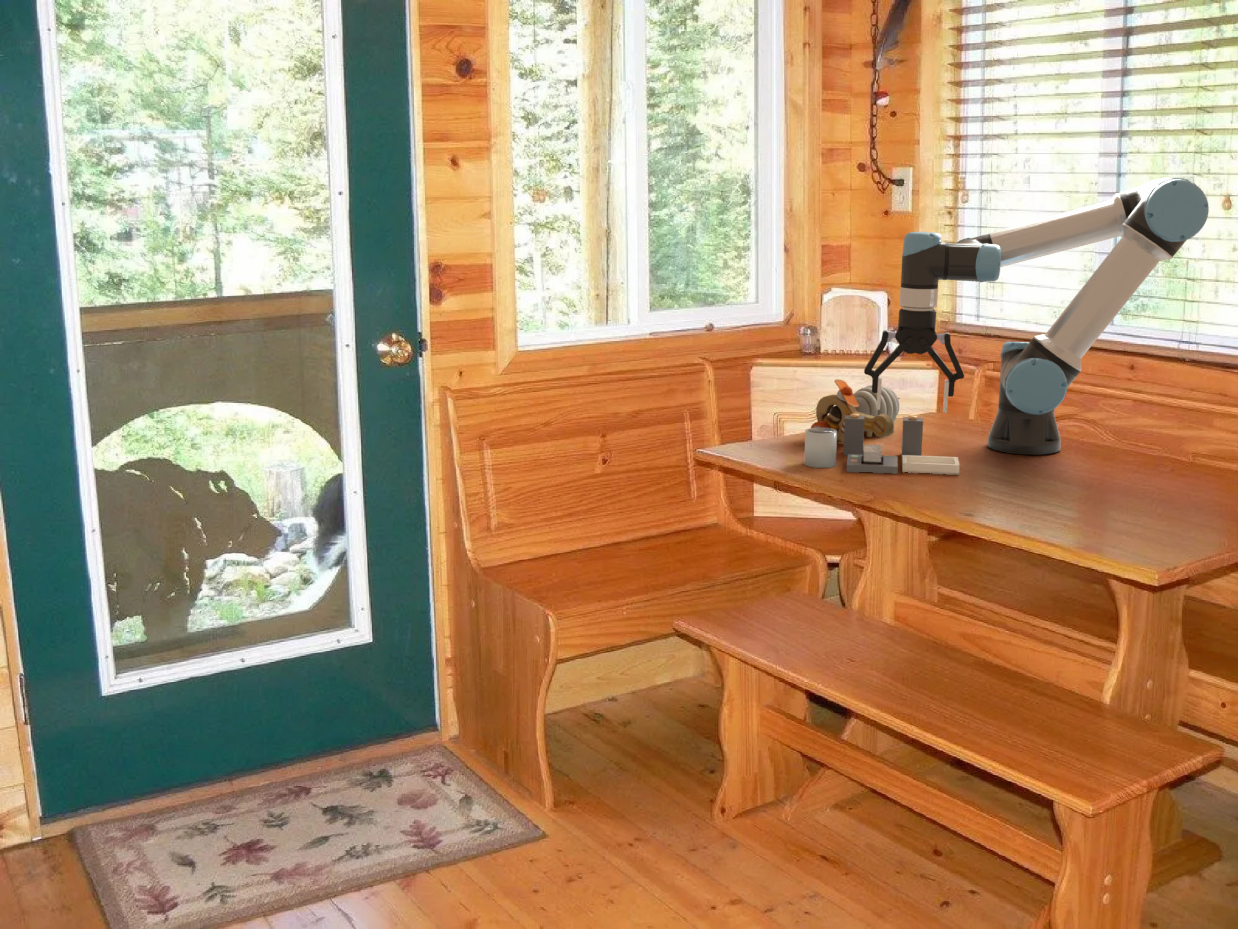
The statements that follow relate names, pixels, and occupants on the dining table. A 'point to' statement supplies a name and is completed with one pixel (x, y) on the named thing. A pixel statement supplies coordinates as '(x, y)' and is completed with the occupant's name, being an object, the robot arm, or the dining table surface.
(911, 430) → the cell
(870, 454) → the grey rectangular block
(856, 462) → the base
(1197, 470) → the dining table surface
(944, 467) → the trough
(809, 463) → the cup
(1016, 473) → the dining table surface
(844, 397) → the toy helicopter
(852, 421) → the block
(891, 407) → the grey ribbed rounded cylinder
